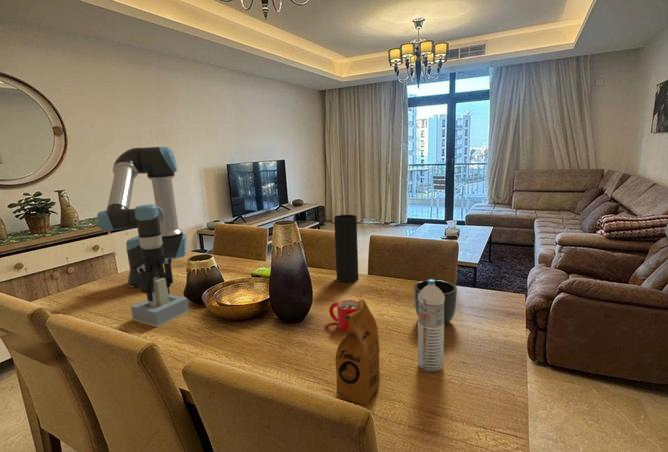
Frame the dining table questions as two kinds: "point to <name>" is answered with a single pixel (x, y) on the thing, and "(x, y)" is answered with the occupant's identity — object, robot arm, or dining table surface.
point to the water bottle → (431, 328)
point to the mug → (343, 312)
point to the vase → (346, 248)
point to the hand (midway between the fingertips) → (160, 305)
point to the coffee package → (358, 357)
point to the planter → (449, 293)
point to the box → (160, 291)
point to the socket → (160, 311)
